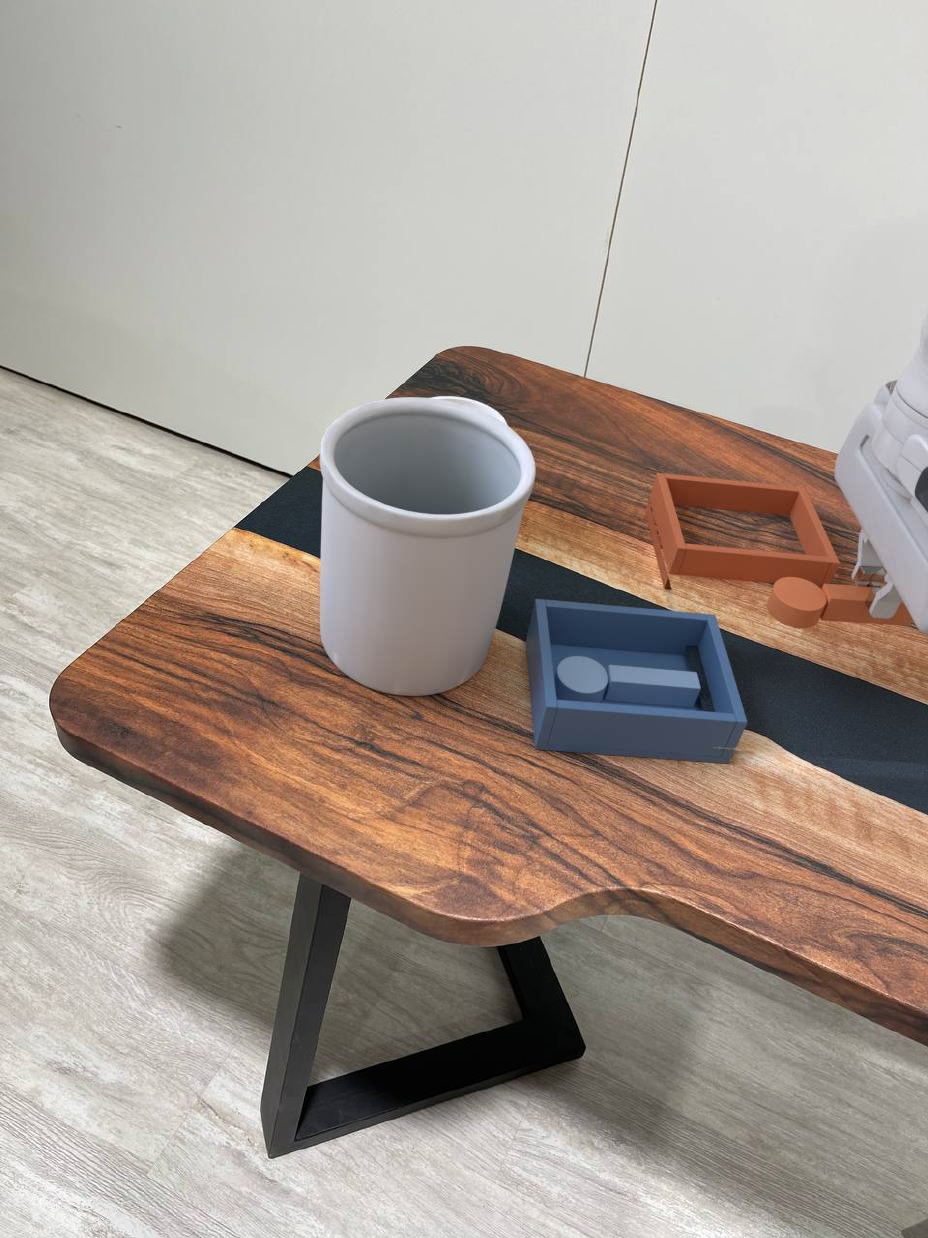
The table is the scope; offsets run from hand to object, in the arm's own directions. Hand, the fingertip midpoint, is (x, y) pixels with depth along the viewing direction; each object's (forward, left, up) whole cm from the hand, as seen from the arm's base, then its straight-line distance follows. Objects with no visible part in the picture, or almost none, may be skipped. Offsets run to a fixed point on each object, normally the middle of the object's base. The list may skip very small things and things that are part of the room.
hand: (870, 599), depth 77 cm
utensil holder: (+35, -2, -10) cm, 36 cm away
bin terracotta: (+5, -17, -9) cm, 20 cm away
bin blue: (+18, +3, -9) cm, 20 cm away
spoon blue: (+18, +3, -9) cm, 20 cm away
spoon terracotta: (+2, 0, -2) cm, 3 cm away
